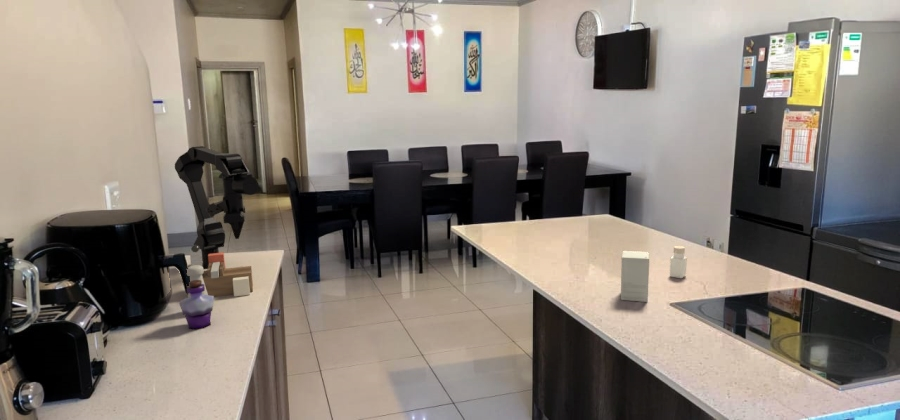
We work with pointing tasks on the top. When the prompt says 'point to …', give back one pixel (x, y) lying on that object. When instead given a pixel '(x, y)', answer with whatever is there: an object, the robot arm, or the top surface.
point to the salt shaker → (196, 275)
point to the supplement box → (635, 276)
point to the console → (225, 279)
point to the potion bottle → (197, 306)
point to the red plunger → (216, 263)
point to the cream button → (241, 286)
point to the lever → (196, 256)
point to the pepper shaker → (678, 263)
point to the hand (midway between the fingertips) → (237, 238)
